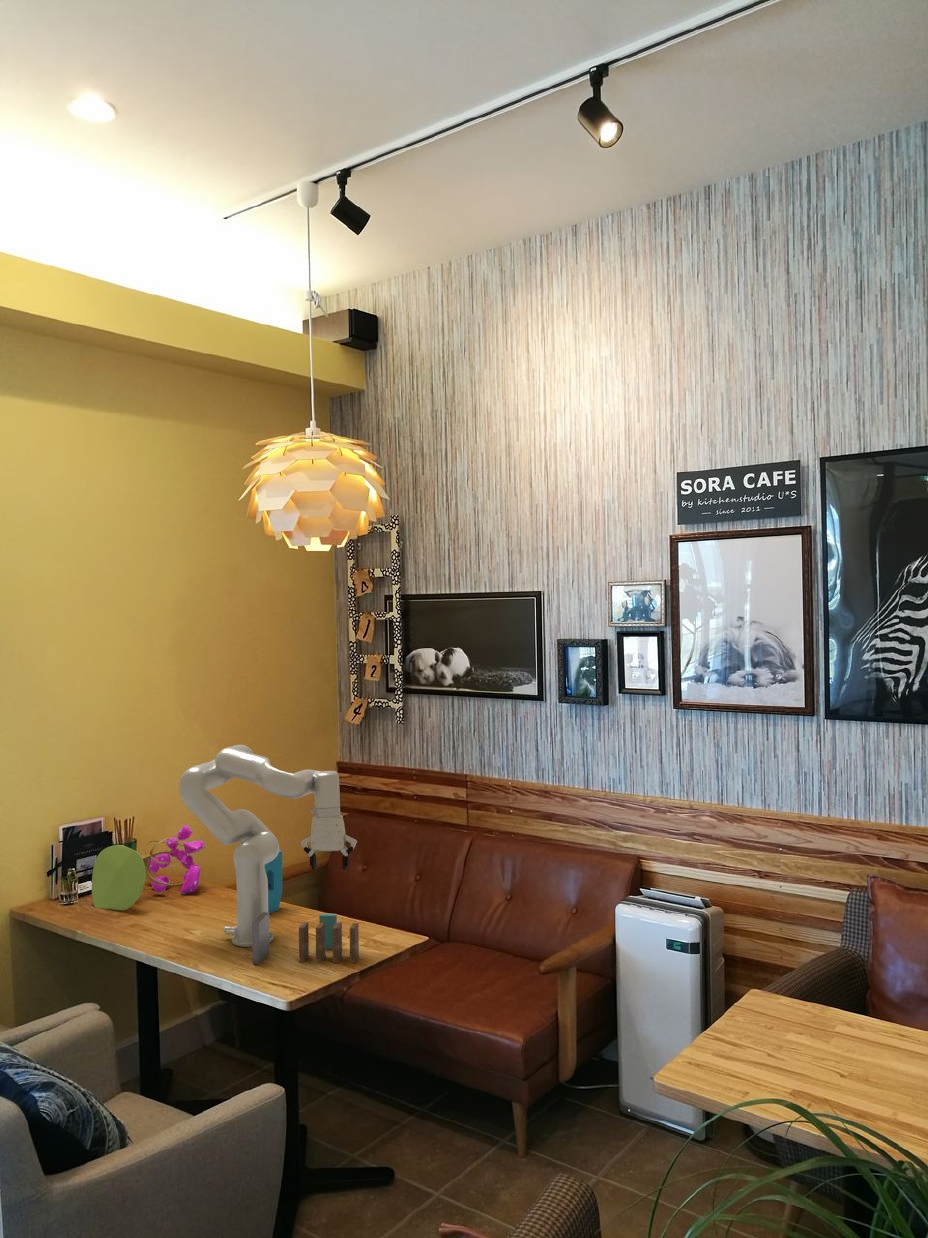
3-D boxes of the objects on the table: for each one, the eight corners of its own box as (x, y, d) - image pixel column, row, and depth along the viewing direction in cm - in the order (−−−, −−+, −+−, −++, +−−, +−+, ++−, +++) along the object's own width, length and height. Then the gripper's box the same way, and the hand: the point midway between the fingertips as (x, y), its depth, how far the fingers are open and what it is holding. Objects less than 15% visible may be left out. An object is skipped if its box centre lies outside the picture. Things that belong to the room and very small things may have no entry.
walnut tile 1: (350, 963, 276) (349, 928, 276) (353, 957, 281) (353, 923, 281) (355, 963, 275) (355, 928, 275) (358, 957, 280) (358, 923, 280)
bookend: (252, 964, 275) (252, 922, 275) (263, 952, 285) (262, 912, 285) (259, 964, 275) (259, 922, 275) (269, 952, 285) (269, 912, 285)
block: (255, 917, 320) (254, 857, 320) (246, 914, 323) (245, 855, 323) (283, 908, 329) (283, 850, 329) (274, 906, 332) (274, 848, 332)
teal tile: (336, 948, 288) (335, 915, 288) (319, 948, 288) (319, 915, 288) (337, 947, 289) (336, 914, 289) (321, 946, 290) (320, 913, 290)
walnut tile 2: (333, 962, 276) (332, 928, 276) (336, 956, 281) (336, 922, 281) (338, 962, 276) (338, 928, 276) (342, 956, 281) (341, 922, 281)
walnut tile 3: (316, 962, 276) (315, 928, 276) (320, 956, 281) (319, 922, 281) (321, 962, 276) (321, 928, 276) (325, 956, 281) (325, 922, 281)
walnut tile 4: (299, 962, 277) (298, 927, 277) (303, 956, 282) (303, 922, 282) (304, 962, 277) (304, 927, 277) (308, 956, 282) (308, 922, 282)
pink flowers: (98, 818, 339) (174, 814, 369) (76, 894, 339) (154, 885, 369) (151, 849, 323) (226, 843, 352) (128, 929, 323) (205, 917, 353)
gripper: (296, 815, 287) (298, 872, 287) (352, 814, 285) (354, 871, 285) (303, 810, 294) (305, 865, 294) (358, 809, 292) (360, 865, 292)
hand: (329, 868), depth 289 cm, fingers open, 9 cm apart
